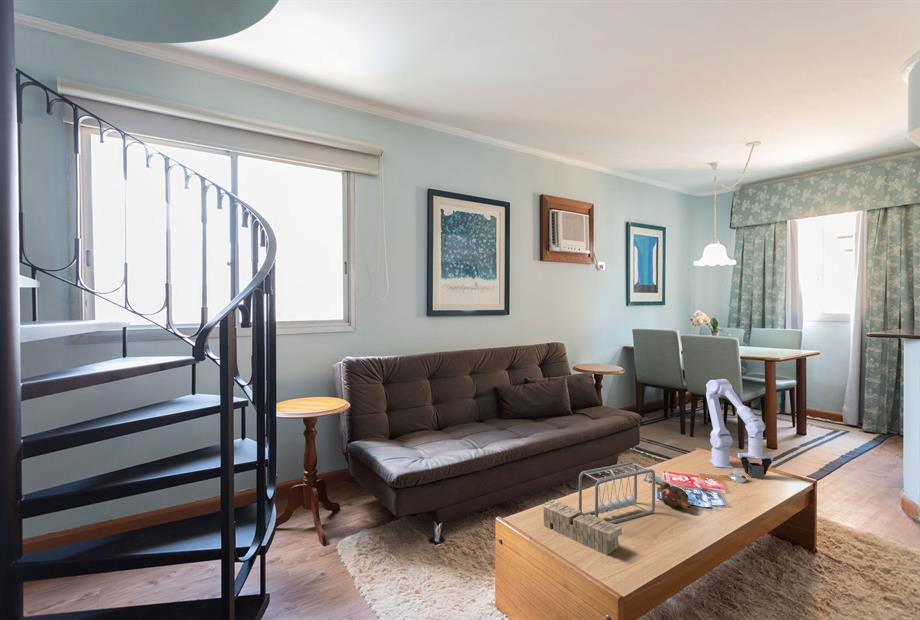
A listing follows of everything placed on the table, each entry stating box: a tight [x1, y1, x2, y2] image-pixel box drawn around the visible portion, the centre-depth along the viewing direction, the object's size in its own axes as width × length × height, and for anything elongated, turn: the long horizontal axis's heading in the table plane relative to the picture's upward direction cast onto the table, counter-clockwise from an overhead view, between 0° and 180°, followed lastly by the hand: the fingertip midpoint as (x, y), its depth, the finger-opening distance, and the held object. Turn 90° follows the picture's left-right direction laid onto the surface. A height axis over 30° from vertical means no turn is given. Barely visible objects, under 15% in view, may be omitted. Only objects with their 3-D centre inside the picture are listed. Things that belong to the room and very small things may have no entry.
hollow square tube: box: [747, 461, 765, 480], centre depth 213 cm, size 5×5×6 cm
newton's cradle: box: [578, 461, 656, 524], centre depth 176 cm, size 30×10×18 cm, turn 114°
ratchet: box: [697, 467, 747, 484], centre depth 210 cm, size 20×7×5 cm, turn 78°
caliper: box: [643, 472, 688, 492], centre depth 202 cm, size 20×1×6 cm, turn 41°
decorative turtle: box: [659, 482, 692, 510], centre depth 183 cm, size 10×15×8 cm, turn 23°
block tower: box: [543, 499, 623, 556], centre depth 160 cm, size 8×8×29 cm
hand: (755, 473), depth 213 cm, fingers open, 7 cm apart
